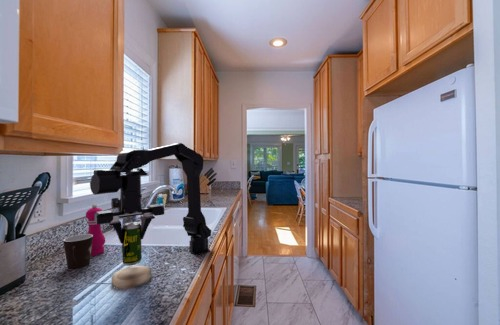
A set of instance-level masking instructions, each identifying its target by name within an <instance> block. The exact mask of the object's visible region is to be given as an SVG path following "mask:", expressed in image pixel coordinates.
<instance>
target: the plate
mask: <svg viewBox="0 0 500 325" xmlns="http://www.w3.org/2000/svg"><path fill="white" fill-rule="evenodd" d="M151 279H152V268H151V267H149V266H147V265H131V266H129V267H125V268H122V269H120V270H117V271H116V272H114V273H113V274H112V275H111V287H112V288H114V287H115V289H116V288H118V290H127V289H133V288H137V287H140V286H142V285H144V284H146V283H147V282H149V281H150V280H151Z"/></svg>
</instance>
